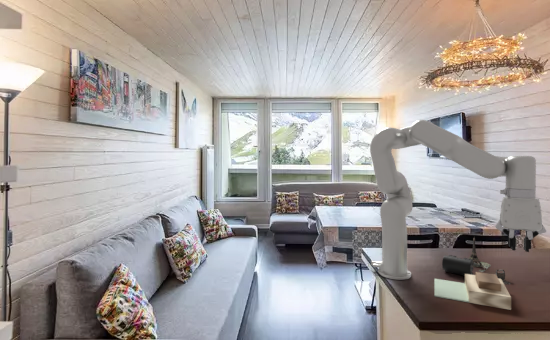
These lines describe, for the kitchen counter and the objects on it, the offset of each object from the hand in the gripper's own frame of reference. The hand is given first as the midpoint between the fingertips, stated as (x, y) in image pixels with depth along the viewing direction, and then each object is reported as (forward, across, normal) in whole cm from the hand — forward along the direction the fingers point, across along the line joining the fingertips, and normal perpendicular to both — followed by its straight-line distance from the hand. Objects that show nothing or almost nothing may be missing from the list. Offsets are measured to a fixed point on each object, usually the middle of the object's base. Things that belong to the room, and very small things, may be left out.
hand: (519, 249), depth 97 cm
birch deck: (+17, -9, 0) cm, 19 cm away
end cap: (+17, -16, +19) cm, 30 cm away
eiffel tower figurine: (+18, -9, +34) cm, 39 cm away
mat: (+17, -19, 0) cm, 26 cm away
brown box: (+13, -8, 0) cm, 16 cm away
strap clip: (+18, -2, +19) cm, 26 cm away
